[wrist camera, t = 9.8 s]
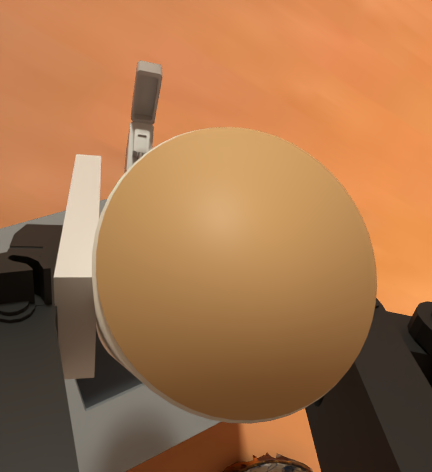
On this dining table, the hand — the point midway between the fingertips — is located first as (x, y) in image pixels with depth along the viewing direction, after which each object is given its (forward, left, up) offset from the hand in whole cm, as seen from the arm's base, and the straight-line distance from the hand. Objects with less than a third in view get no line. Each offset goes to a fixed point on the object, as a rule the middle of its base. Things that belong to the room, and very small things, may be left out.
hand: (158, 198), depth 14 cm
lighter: (+4, +10, -19) cm, 22 cm away
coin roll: (-1, -4, -4) cm, 5 cm away
